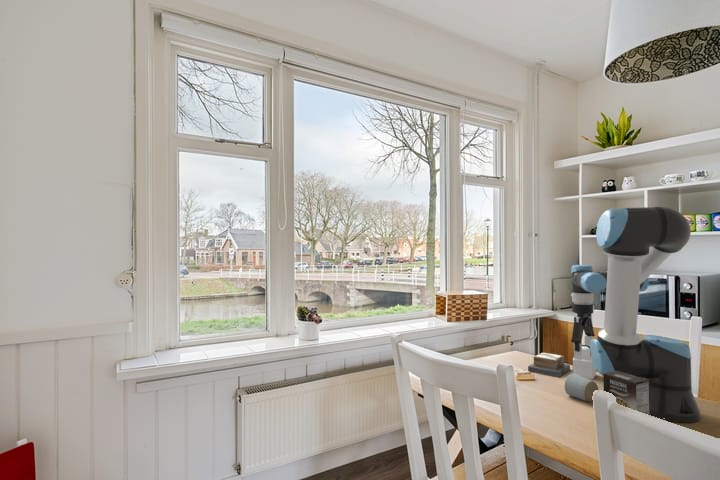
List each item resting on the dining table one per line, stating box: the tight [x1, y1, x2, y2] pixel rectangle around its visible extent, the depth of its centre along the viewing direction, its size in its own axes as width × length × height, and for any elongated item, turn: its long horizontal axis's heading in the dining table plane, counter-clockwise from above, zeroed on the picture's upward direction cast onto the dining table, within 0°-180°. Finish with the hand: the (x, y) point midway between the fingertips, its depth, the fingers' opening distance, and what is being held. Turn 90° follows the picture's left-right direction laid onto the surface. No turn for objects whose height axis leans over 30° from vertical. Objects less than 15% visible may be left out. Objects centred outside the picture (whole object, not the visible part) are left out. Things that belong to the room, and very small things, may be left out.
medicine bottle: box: [572, 344, 597, 380], centre depth 162 cm, size 7×7×12 cm
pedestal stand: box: [527, 352, 571, 378], centre depth 170 cm, size 14×12×6 cm
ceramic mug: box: [564, 372, 599, 403], centre depth 139 cm, size 11×8×8 cm
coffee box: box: [602, 371, 650, 416], centre depth 112 cm, size 9×6×16 cm
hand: (583, 355), depth 163 cm, fingers open, 13 cm apart
